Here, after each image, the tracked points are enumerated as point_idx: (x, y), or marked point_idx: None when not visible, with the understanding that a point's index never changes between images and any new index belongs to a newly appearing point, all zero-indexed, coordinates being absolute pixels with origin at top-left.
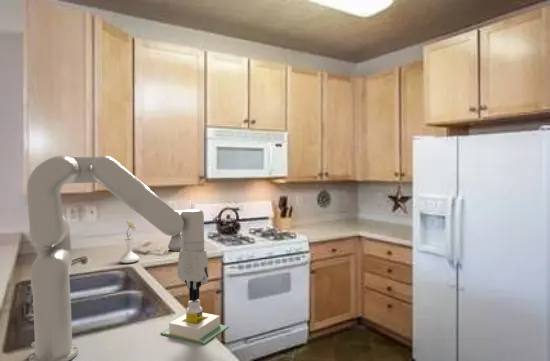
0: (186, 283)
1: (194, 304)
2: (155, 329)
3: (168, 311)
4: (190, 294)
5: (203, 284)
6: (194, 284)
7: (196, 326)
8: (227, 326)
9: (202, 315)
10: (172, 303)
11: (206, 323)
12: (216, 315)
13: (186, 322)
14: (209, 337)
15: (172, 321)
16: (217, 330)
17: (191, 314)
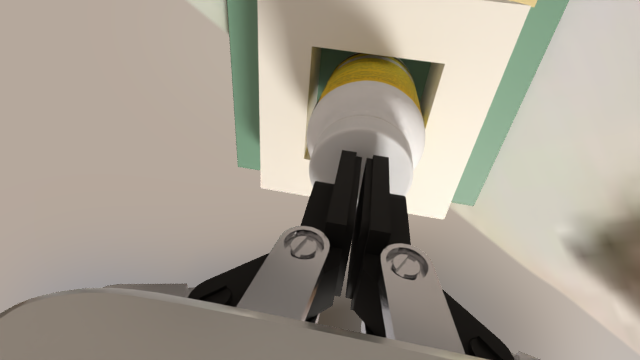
0: (472, 325)
1: (332, 131)
2: (636, 45)
3: (617, 258)
4: (372, 187)
5: (144, 285)
6: (286, 283)
7: (293, 15)
8: (240, 162)
9: None
10: (621, 325)
11: (262, 79)
12: (277, 188)
13: (395, 54)
14: (242, 28)
15: (512, 40)
16: (255, 115)
17: (354, 79)
